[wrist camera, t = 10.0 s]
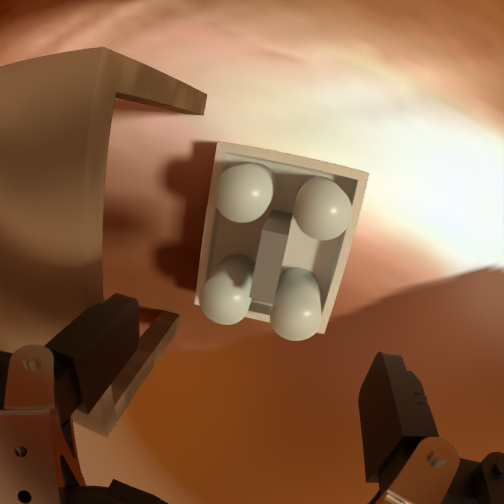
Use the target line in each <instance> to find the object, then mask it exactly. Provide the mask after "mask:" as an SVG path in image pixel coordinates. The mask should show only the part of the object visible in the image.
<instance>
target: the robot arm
mask: <svg viewBox="0 0 504 504" xmlns="http://www.w3.org/2000/svg"><path fill="white" fill-rule="evenodd" d="M138 343H139V305H138V301H137V299H135V298H132V297H128V296H125V295H121V294H118V293H116V294H114V295H113V296H111V297H110V298H109V299H108V300H107V301H106V302H105V303H103V304H102V303H98V304H96V305H94V306H91V307H89V308H87V309H86V310H84V311H83V312H82V313H81V314H80V315H79V316H78V318H75V319H74V320H73V321H72V322H71V324H68V325H67V326H66V327H65V328H64V329H62V330H61V331H60V332H59V333H58V334H57V335H56V336H55V337H53V338H52V339H51V340H50V341H49V342H48V343H47V344H46V345H45V346H41V345H35V344H32V345H26V346H23V347H21V348H19V349H17V350H16V351H15V352H14V353H9V352H4V351H0V504H168V503H166V502H164V501H163V500H161V499H160V498H158V497H156V496H154V495H152V494H150V493H147V492H144V491H142V490H139V489H137V488H134V487H131V486H129V485H126V484H124V483H122V482H119V481H117V480H115V479H113V481H112V482H111V484H110V486H109V488H108V487H101V486H86V483H85V480H84V477H83V474H82V472H81V468H80V464H79V459H78V453H77V447H76V441H75V434H74V427H73V420H72V416H71V415H72V414H73V412H74V411H75V410H78V411H80V412H83V413H85V414H87V415H88V414H89V413H90V412H91V410H92V409H93V408H94V406H95V405H96V403H97V402H98V401H99V399H100V398H101V397H102V395H103V394H104V393H105V391H106V390H107V389H108V387H109V386H110V385H111V383H112V382H113V381H114V379H115V378H116V377H117V375H118V374H119V373H120V371H121V370H122V369H123V368H124V366H125V365H126V364H127V362H128V361H129V360H130V358H131V357H132V356H133V354H134V353H135V351H136V349H137V347H138ZM358 404H359V412H360V422H361V431H362V439H363V451H364V462H365V475H366V482H370V483H374V482H375V483H379V490H378V491H377V492H376V494H375V495H374V496H373V497H372V498H371V500H370V501H369V502H368V503H367V504H504V454H503V453H500V452H492V453H490V454H488V455H487V456H486V457H485V458H484V459H483V460H482V461H481V462H475V461H471V460H466V459H462V458H460V457H459V453H458V451H457V449H456V448H455V447H454V445H452V444H451V443H450V442H449V441H447V440H445V439H443V438H440V437H439V435H438V431H437V428H436V425H435V422H434V419H433V416H432V413H431V410H430V407H429V405H428V401H427V398H426V396H425V395H424V390H423V387H422V384H421V382H420V380H419V379H418V378H417V377H416V376H415V375H414V373H413V372H412V371H407V370H406V367H405V364H404V361H403V358H402V356H401V355H399V354H391V353H384V352H379V353H378V354H377V355H376V356H375V358H374V361H373V363H372V365H371V367H370V369H369V372H368V374H367V376H366V378H365V380H364V382H363V384H362V386H361V389H360V393H359V399H358Z"/></svg>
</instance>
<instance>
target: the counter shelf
mask: <svg viewBox="0 0 504 504" xmlns="http://www.w3.org/2000/svg"><path fill="white" fill-rule="evenodd" d="M115 98H120V99H125V100H130V101H134V102H139V103H144V104H148V105H153V106H157V107H161V108H165V109H170V110H174V111H178V112H181V113H188V114H198V115H204V110H205V104H206V99H207V94H205V93H203V92H201V91H199V90H197V89H195V88H193V87H191V86H189V85H187V84H185V83H183V82H181V81H179V80H177V79H175V78H173V77H171V76H169V75H167V74H165V73H163V72H160V71H158V70H156V69H154V68H152V67H149V66H147V65H145V64H143V63H140V62H138V61H136V60H134V59H131V58H129V57H127V56H124V55H122V54H119V53H117V52H115V51H112V50H110V49H107V48H105V47H99V48H90V49H83V50H76V51H69V52H63V53H57V54H52V55H47V56H42V57H37V58H32V59H28V60H24V61H20V62H16V63H12V64H8V65H4V66H1V67H0V351H4V352H9V353H14V352H15V351H16V350H17V349H19V348H21V347H23V346H26V345H32V344H35V345H41V346H45V345H46V344H47V343H48V342H49V341H50V340H51V339H52V338H53V337H55V336H56V335H57V334H58V333H59V332H60V331H61V330H62V329H64V328H65V327H66V326H67V325H68V324H71V322H72V321H73V320H74V319H75V318H78V316H79V315H80V314H81V313H82V312H83V311H84V310H86V309H87V308H89V307H91V306H94V305H96V304H98V303H102V304H103V303H104V302H103V273H102V235H103V206H104V189H105V175H106V164H107V154H108V145H109V136H110V128H111V121H112V114H113V108H114V101H115ZM178 328H179V315H178V314H174V313H170V312H167V311H162V312H161V313H160V314H159V316H158V317H157V318H156V319H155V321H154V322H153V323H152V324H151V325H150V327H149V328H148V329H147V330H146V331H145V333H144V334H143V335H142V336H141V337H140V339H139V343H138V347H137V349H136V351H135V353H134V354H133V356H132V357H131V358H130V360H129V361H128V362H127V364H126V365H125V366H124V368H123V369H122V370H121V371H120V373H119V374H118V375H117V377H116V378H115V379H114V381H113V382H112V383H111V385H110V386H109V387H108V389H107V390H106V391H105V393H104V394H103V395H102V397H101V398H100V399H99V401H98V402H97V403H96V405H95V406H94V408H93V409H92V410H91V412H90V413H89V414H88V415H87V414H85V413H83V412H80V411H78V410H75V411H74V412H73V414H72V415H71V416H72V420H73V422H75V423H77V424H79V425H81V426H83V427H85V428H87V429H90V430H92V431H94V432H96V433H98V434H100V435H102V436H105V437H107V436H108V435H109V434H110V432H111V431H112V429H113V428H114V426H115V425H116V423H117V421H118V420H119V418H120V417H121V415H122V414H123V412H124V411H125V409H126V408H127V406H128V405H129V403H130V402H131V400H132V398H133V397H134V396H135V394H136V393H137V391H138V389H139V388H140V386H141V385H142V383H143V382H144V380H145V379H146V377H147V376H148V374H149V373H150V371H151V370H152V368H153V367H154V365H155V364H156V362H157V361H158V359H159V358H160V356H161V355H162V353H163V352H164V350H165V349H166V347H167V346H168V344H169V343H170V342H171V340H172V339H173V337H174V336H175V334H176V333H177V331H178Z"/></svg>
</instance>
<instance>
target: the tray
mask: <svg viewBox="0 0 504 504" xmlns="http://www.w3.org/2000/svg"><path fill="white" fill-rule="evenodd" d="M368 176H369V173H367V172H364V171H361V170H357V169H353V168H349V167H345V166H341V165H337V164H333V163H329V162H324V161H320V160H316V159H311V158H307V157H302V156H297V155H292V154H288V153H283V152H278V151H272V150H267V149H262V148H256V147H251V146H245V145H239V144H233V143H227V142H217V147H216V153H215V159H214V165H213V171H212V178H211V184H210V191H209V197H208V204H207V211H206V218H205V225H204V232H203V239H202V247H201V255H200V262H199V270H198V279H197V287H196V296H195V304H196V305H200V308H201V310H202V311H203V313H204V314H205V315H206V316H207V317H208V318H209V319H210V320H212V321H214V322H216V323H219V324H224V325H230V324H234V323H237V322H239V321H241V320H242V319H243V318H244V317H248V318H253V319H257V320H261V321H266V322H270V323H271V326H272V328H273V329H274V331H275V332H276V333H277V334H278V335H279V336H281V337H283V338H285V339H288V340H293V341H299V340H304V339H307V338H309V337H311V336H312V335H314V334H315V333H316V332H317V333H322V334H324V332H325V329H326V326H327V323H328V320H329V317H330V314H331V311H332V308H333V305H334V302H335V299H336V295H337V292H338V289H339V286H340V282H341V279H342V276H343V272H344V269H345V266H346V262H347V259H348V255H349V252H350V248H351V244H352V241H353V237H354V233H355V229H356V226H357V222H358V218H359V214H360V210H361V206H362V202H363V198H364V194H365V189H366V185H367V181H368Z"/></svg>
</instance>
